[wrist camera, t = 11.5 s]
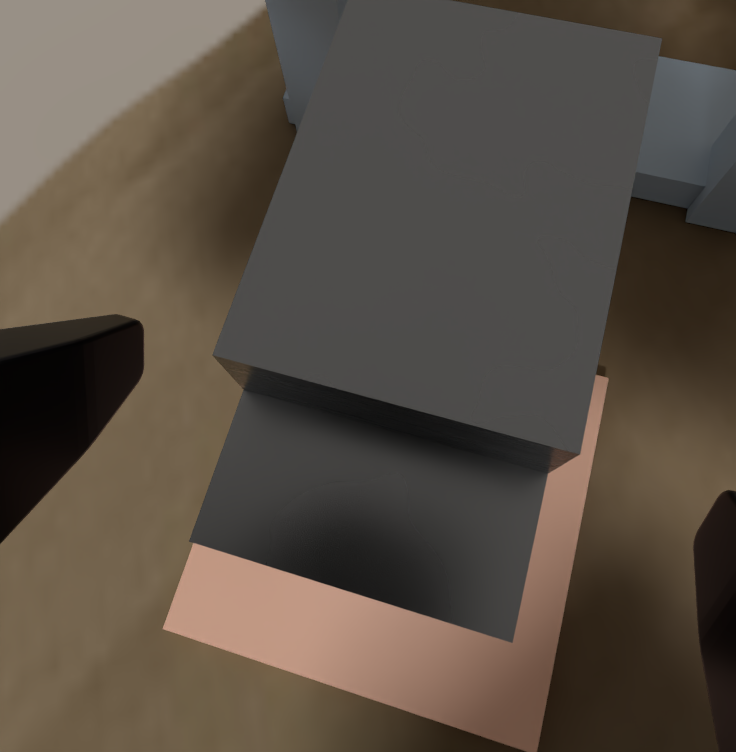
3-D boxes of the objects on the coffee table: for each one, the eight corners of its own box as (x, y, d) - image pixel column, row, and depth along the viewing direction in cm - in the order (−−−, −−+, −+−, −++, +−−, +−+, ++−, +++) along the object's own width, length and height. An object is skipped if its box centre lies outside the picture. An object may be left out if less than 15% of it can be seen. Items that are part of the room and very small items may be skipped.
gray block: (510, 342, 18) (661, 38, 8) (448, 596, 16) (539, 661, 6) (380, 309, 19) (353, -18, 8) (305, 552, 17) (143, 537, 6)
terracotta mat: (604, 382, 18) (608, 378, 18) (532, 750, 15) (536, 754, 15) (284, 300, 19) (282, 295, 19) (168, 627, 17) (163, 628, 16)
